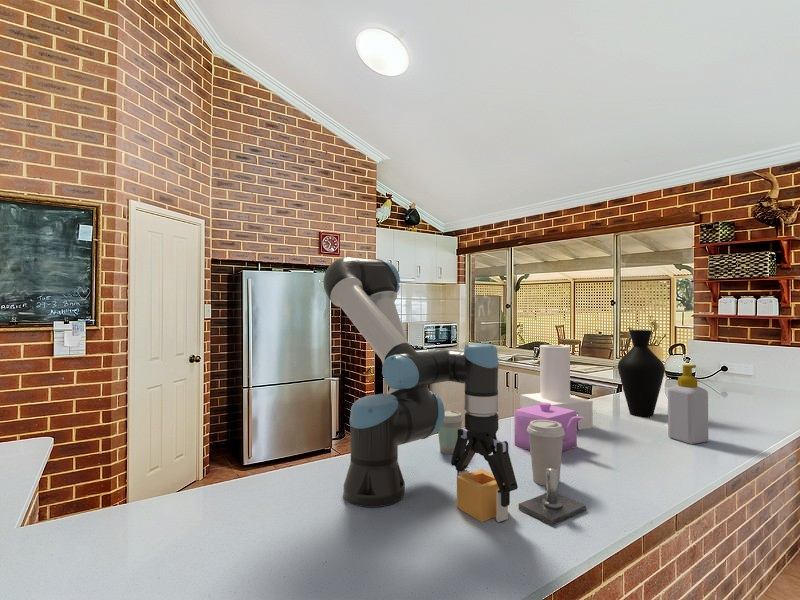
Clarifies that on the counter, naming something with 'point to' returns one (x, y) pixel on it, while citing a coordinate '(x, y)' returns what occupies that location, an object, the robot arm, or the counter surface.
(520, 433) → the teapot
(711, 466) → the counter surface
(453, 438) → the coffee cup
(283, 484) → the counter surface
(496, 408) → the robot arm
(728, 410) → the counter surface
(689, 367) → the soap bottle
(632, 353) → the vase
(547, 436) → the coffee cup
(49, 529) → the counter surface
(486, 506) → the hollow block
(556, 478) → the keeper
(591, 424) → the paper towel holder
